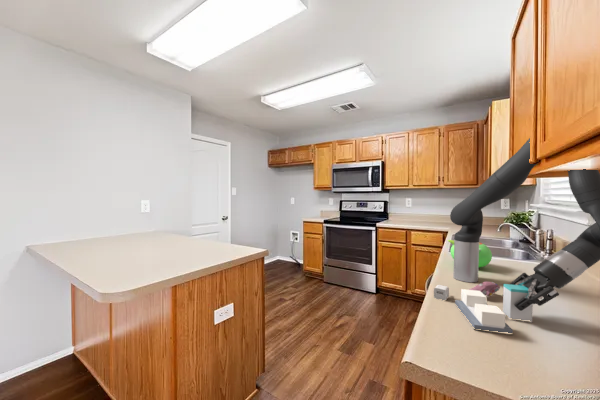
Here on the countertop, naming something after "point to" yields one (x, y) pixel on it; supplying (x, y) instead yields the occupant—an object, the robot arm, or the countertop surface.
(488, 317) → the board
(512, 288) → the teal and white module
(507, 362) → the countertop surface
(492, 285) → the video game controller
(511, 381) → the countertop surface
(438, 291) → the usb wall charger
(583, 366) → the countertop surface
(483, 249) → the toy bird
